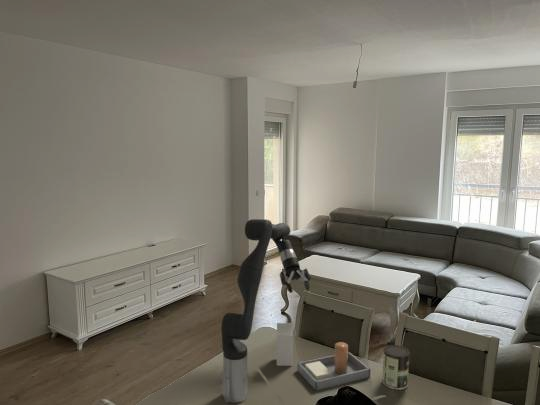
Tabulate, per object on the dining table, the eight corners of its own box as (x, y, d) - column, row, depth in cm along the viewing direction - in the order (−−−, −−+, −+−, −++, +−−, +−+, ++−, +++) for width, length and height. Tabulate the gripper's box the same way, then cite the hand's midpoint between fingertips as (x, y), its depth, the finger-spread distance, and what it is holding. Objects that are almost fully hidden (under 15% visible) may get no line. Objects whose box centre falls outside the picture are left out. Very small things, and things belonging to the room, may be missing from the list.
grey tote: (315, 392, 163) (315, 382, 162) (297, 372, 178) (297, 362, 177) (370, 379, 173) (370, 369, 172) (348, 361, 188) (348, 351, 187)
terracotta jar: (338, 376, 173) (339, 349, 171) (332, 369, 178) (332, 343, 176) (349, 373, 175) (350, 347, 173) (343, 366, 180) (343, 341, 178)
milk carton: (292, 367, 181) (293, 326, 179) (276, 367, 182) (276, 326, 179) (292, 359, 188) (292, 320, 186) (276, 359, 189) (277, 319, 186)
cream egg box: (316, 385, 166) (316, 376, 166) (304, 373, 175) (305, 364, 175) (331, 381, 169) (331, 372, 168) (319, 369, 178) (319, 361, 178)
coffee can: (406, 377, 175) (408, 346, 173) (409, 391, 165) (411, 358, 163) (381, 374, 177) (382, 343, 175) (382, 388, 167) (384, 355, 165)
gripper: (278, 257, 193) (288, 289, 184) (305, 255, 199) (316, 285, 190) (273, 265, 199) (283, 296, 190) (300, 262, 204) (310, 292, 195)
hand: (299, 290), depth 190 cm, fingers open, 8 cm apart
